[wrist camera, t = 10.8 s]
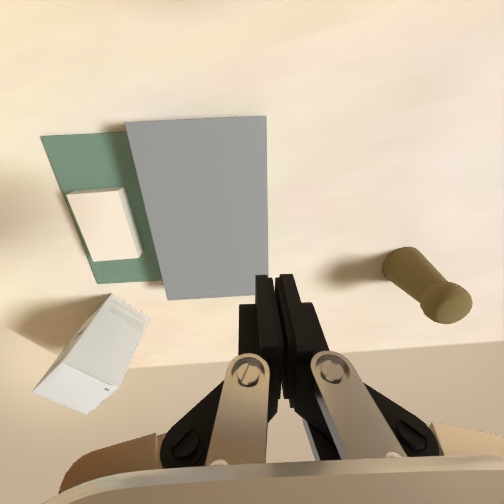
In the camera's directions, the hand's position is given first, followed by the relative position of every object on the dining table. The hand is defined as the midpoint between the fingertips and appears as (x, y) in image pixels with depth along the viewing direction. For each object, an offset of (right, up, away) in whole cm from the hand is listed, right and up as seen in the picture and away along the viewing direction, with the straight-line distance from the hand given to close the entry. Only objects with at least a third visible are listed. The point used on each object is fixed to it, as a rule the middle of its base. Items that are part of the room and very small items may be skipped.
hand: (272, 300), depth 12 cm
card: (-19, +5, +20) cm, 28 cm away
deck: (-6, +7, +22) cm, 24 cm away
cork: (+22, 0, +28) cm, 36 cm away
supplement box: (-23, -8, +30) cm, 38 cm away
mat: (-19, +7, +22) cm, 30 cm away
